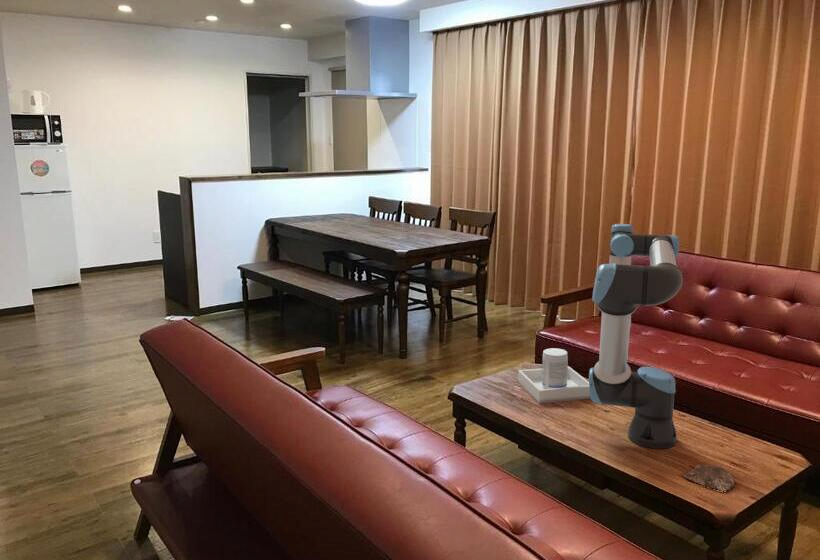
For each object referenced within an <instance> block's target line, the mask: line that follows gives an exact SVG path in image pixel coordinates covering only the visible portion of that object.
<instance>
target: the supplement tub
mask: <svg viewBox="0 0 820 560" xmlns="http://www.w3.org/2000/svg"><path fill="white" fill-rule="evenodd" d="M568 361H569V357H568V351H566V349H562V348H554V347H551V348H546V349H543V351H542V368H543V370H542V386H543V387H544V388H545V389H553V388H564V387H567V368H568V366H569V364H568V363H569V362H568Z"/></svg>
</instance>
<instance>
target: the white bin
mask: <svg viewBox="0 0 820 560" xmlns="http://www.w3.org/2000/svg"><path fill="white" fill-rule="evenodd" d="M542 370H543V367H542V368H531V369H520V370H517V383H518V384H519V385H520V386H521V387H522V388H523V390H525V391H526V392H527V393H528V394H529V395H530V396H531V397H532V398H533V399H534V400H535V401H536V402H537V403H538V404H546V403H556V402H557V403H558V402H567V401H578V400H588V399H589V400H591V397H590V391H589V380H587V379H586V377H585V378H584V376H582V375H581V374H580V373H578V372H577V371H576V370H574V369H573V368H572V367H571V366H569V365H568V368H567V387H564V388H553V389H545V388H544V387H543V386H542Z"/></svg>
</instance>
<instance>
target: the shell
mask: <svg viewBox="0 0 820 560" xmlns="http://www.w3.org/2000/svg"><path fill="white" fill-rule="evenodd" d="M683 477H684V478H685V479H686V480H688V481H690V482H691V483H692V482H693V483H692V484H694V483H696V484H695V485H697V484H699V485H698V486H700V485H702V486H705V487H709V488H712V489H715V490H719V491H723V492H724V491H729V490H730V489H731V490H733V489H734V487H735V482H736V481H735V478H734V476H733V475H732V474H731V473H730V472H729V471H728V470H726V469H725V468H722V467H720V466H714V465H707V464H705V465H703V464H702V465H701V464H696V465H695V466H694V467H693V468H692V469H690V470H688V472H686V473H685V474H683ZM702 486H701V487H702ZM705 487H704V488H705ZM731 490H730V491H731ZM730 491H729V492H730Z"/></svg>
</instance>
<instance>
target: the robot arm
mask: <svg viewBox="0 0 820 560" xmlns="http://www.w3.org/2000/svg"><path fill="white" fill-rule="evenodd" d="M609 247H610V251H609V259H608V260H609V263H603V264H600V265H598V267H597V270H596V273H595V278H594V284H593V285H594V286H593V290H592V300H591V301H592V302H594V303H595V304H596V305H597V308H598V310H599V311H600V312H601V320H600V337H599V340H600V341H599V355H598V356H599V358H598V361H597V362H596V363H595V365H594V367H591V368H589V373H588V382H589V391H590V397H591V399H590V400H591V402H593V403H595V404H600V405H604V406H605V405H606V406H616V407H626V408H635V410H634V414H633V417H632V419H631V422H630V424H629V426H628V429H627V437H628V439H629V440H630V441H631V442H632V443H635V444H636V445H638V446H641V447H643V448H644V447H646V448H648V449H649V448H650V449H655V450H656V449H657V450H658V449H660V450H661V449H669V448H672V447H674V446H675V445H676V444H677V441H678V439H677V438H678V436H677V435H678V434H677V431H676V427H675V423H674V420H673V419H674V417H673V416H674V404H675V394H676V392H677V390H676V379H675V377H674V376H673V375H672V374H671V373H670V372H667V371H666V370H663V369H661V368H657V367H653V366H642V367H639V368H638V369H637V371H632V370H631V367H630V365H629V364H628V356H629V355H628V353H629V346H630V344H629V342H630V332H631V326H632V317H633V314H634V313H635V312H636V311H637V309H638V306H647V307H650V306H657V305H661V304H664V303H667V302H668V301H670V300H672V299H673V298H674V297H675V296H676V295H677V294H678V293H679V292H680V290H681V289H682V286H683V281H684V280H683V274H682V270H681V269H680V268H679V267H678V266H677V261H676V258H677V257H678V255H679V251H680V238H679V236H677V235H672V234H671V235H670V234H647V233H634V226H633V224H628V223H614V224H612V226H611V230H610V243H609ZM632 256H633V257H634V256H636V257H649V263H650V264H649V265H635V264H632Z"/></svg>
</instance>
